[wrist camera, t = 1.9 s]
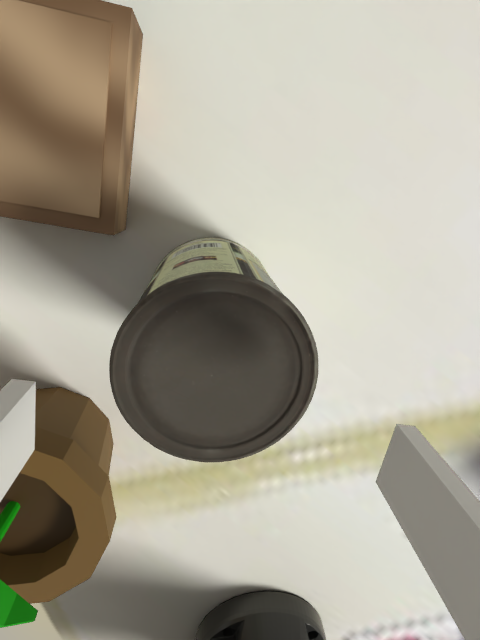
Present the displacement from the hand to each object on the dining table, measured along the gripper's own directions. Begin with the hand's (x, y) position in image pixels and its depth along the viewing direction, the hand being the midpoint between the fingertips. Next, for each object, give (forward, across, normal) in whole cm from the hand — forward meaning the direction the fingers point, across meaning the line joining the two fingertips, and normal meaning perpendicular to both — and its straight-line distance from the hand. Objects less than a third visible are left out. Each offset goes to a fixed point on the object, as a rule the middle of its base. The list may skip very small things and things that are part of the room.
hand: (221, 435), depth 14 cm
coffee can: (+19, 0, 0) cm, 19 cm away
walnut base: (+19, +14, -10) cm, 26 cm away
